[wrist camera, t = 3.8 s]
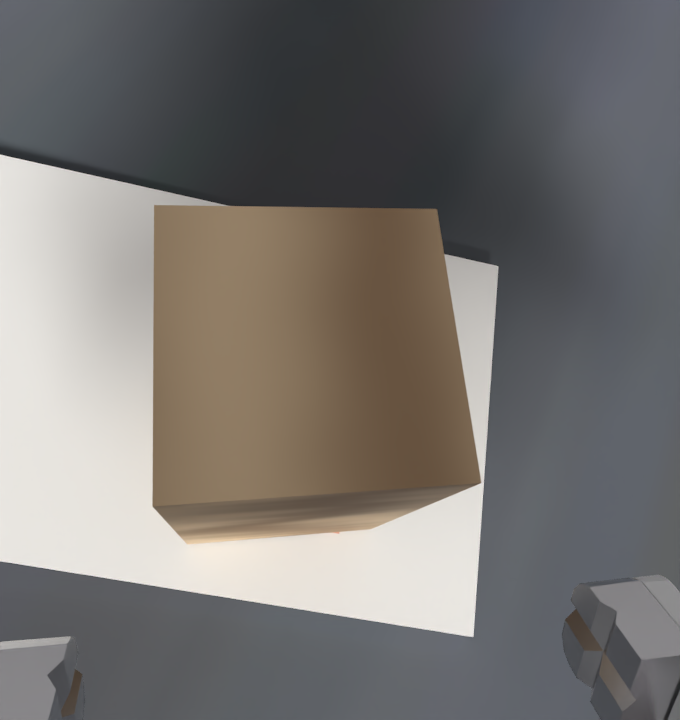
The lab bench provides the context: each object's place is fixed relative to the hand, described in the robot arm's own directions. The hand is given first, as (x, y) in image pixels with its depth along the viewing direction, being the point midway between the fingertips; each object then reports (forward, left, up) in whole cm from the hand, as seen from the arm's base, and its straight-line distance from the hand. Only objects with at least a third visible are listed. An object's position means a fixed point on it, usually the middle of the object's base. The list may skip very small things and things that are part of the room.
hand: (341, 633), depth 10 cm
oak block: (-1, +5, -10) cm, 12 cm away
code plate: (-4, +7, -11) cm, 14 cm away
